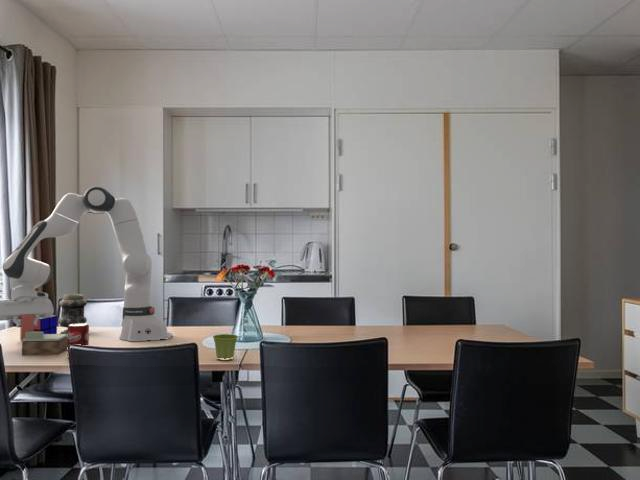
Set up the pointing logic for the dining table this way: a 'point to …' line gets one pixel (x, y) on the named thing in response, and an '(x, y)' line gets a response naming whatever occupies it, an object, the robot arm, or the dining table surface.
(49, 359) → the dining table surface
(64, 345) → the brown wooden box
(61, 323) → the apothecary jar
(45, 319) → the puzzle cube
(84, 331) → the soda can
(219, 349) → the plant pot
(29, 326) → the key peg
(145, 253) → the robot arm
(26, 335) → the lid
